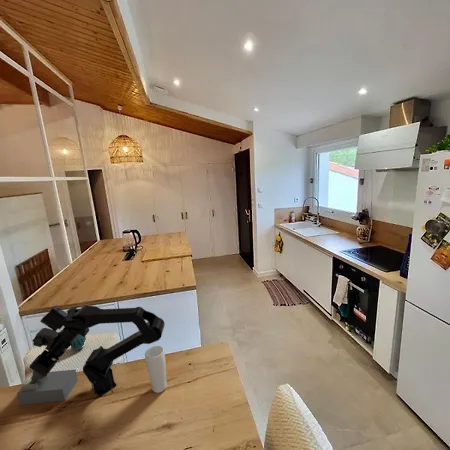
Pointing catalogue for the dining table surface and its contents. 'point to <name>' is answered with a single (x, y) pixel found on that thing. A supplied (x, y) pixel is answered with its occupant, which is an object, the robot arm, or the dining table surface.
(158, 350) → the drinking glass
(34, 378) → the lever
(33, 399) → the base
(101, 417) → the dining table surface
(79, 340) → the beverage bottle
